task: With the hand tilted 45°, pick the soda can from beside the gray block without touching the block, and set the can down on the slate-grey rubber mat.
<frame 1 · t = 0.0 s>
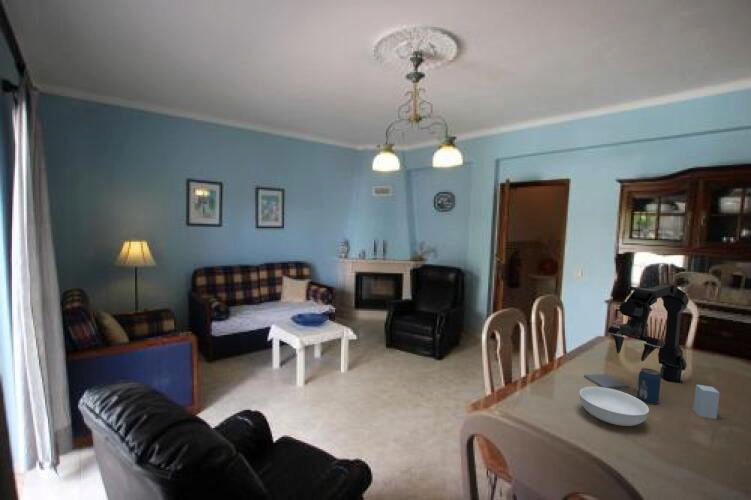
hand: (629, 357, 152), 15 cm above the table, tool pointing down, fingers open, 9 cm apart
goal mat: (605, 382, 164), on the table
gray block: (704, 414, 139), on the table
serving bowl: (611, 418, 134), on the table
soda can: (647, 401, 148), on the table
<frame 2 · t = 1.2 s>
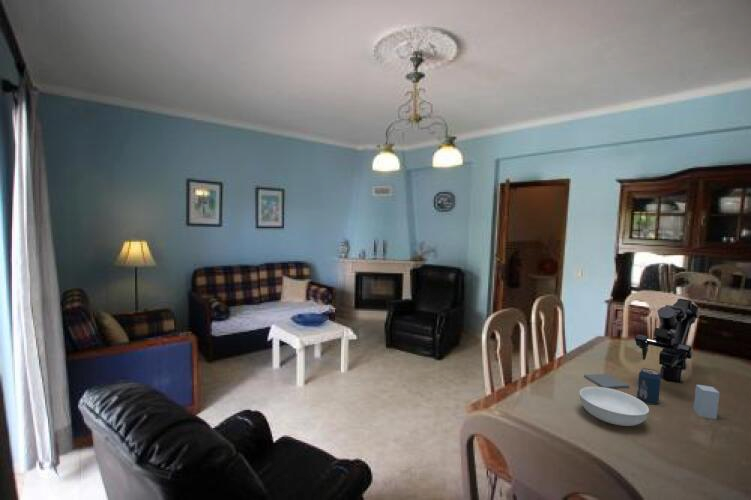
hand: (657, 363, 152), 13 cm above the table, tool tilted 45°, fingers open, 9 cm apart
nothing on the table moved.
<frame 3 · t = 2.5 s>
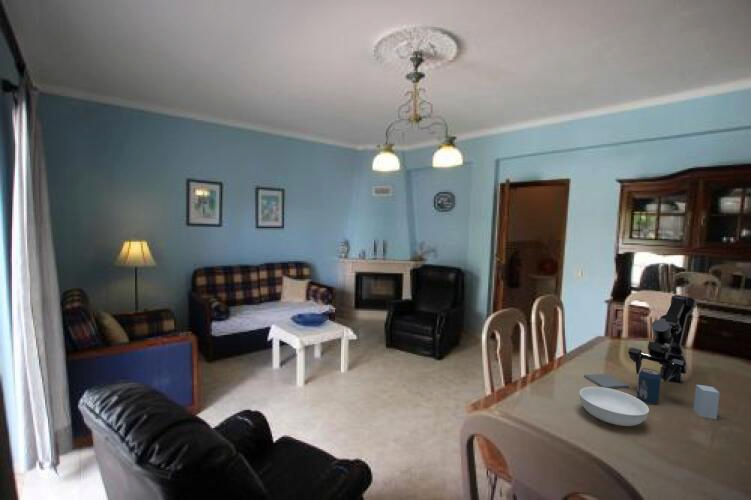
hand: (650, 377, 148), 9 cm above the table, tool tilted 45°, fingers open, 9 cm apart
nothing on the table moved.
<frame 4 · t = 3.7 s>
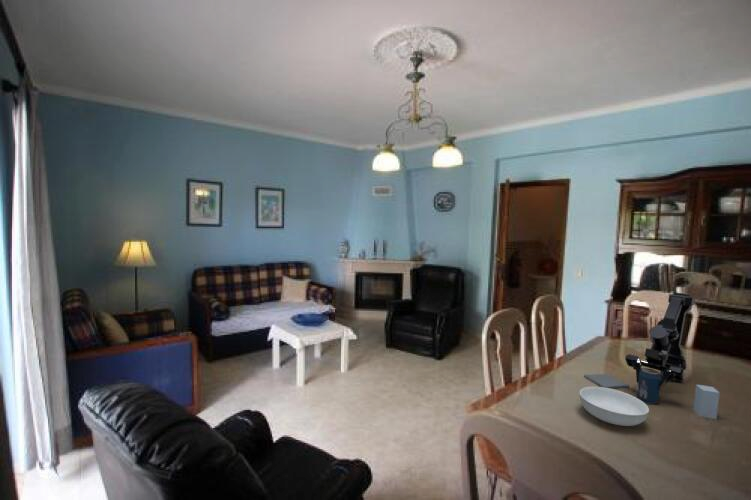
hand: (647, 385, 147), 7 cm above the table, tool tilted 45°, fingers closed on soda can, 7 cm apart
soda can: (647, 401, 148), on the table, touching gripper
everything else where it was.
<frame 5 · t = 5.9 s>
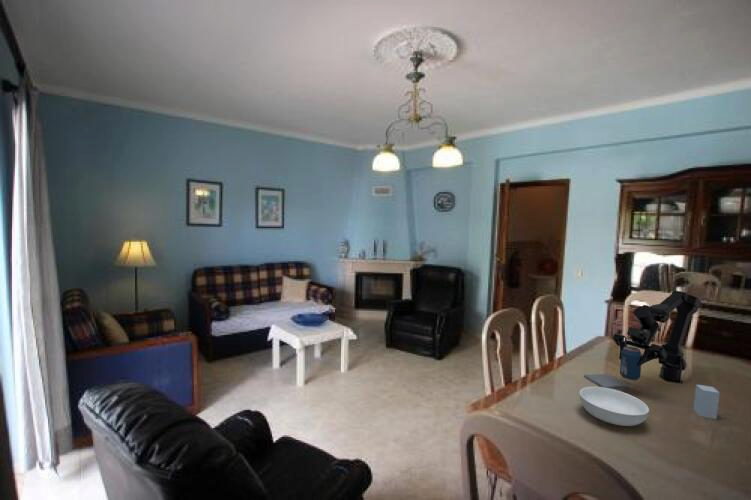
hand: (628, 362, 152), 13 cm above the table, tool tilted 45°, fingers closed on soda can, 7 cm apart
soda can: (629, 378, 154), point 6 cm above the table, touching gripper
everything else where it was.
when the fingers open (9 cm above the table, at t = 8.2 s): soda can drops 1 cm, resting on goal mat.
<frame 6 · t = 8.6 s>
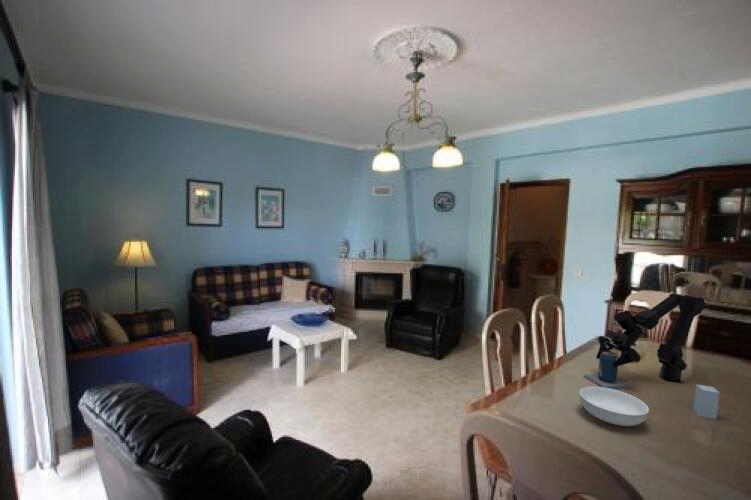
hand: (604, 362, 163), 9 cm above the table, tool tilted 45°, fingers open, 9 cm apart
soda can: (606, 380, 164), point 1 cm above the table, touching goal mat
everything else where it was.
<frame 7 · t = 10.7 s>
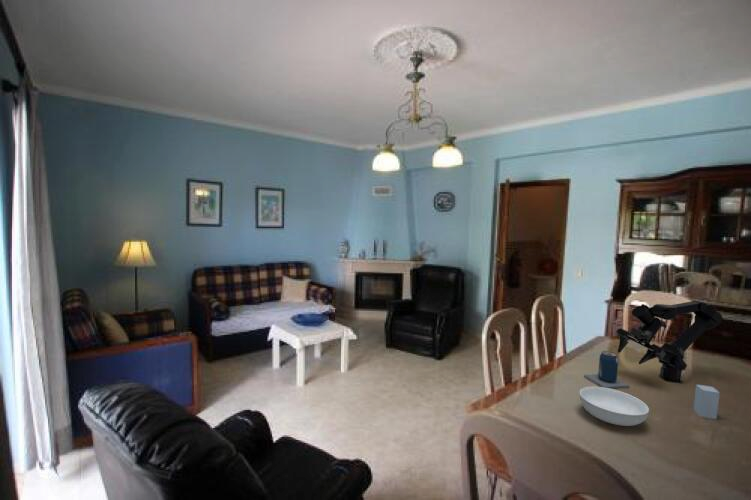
hand: (628, 358, 165), 11 cm above the table, tool tilted 35°, fingers open, 9 cm apart
nothing on the table moved.
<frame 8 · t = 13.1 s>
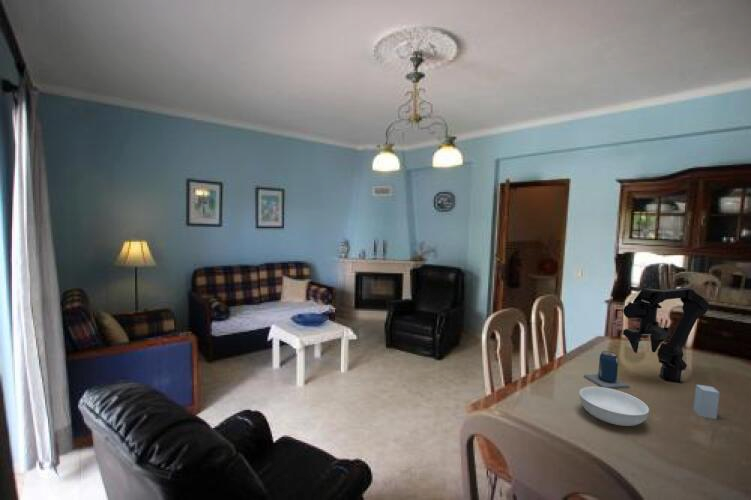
hand: (644, 352, 165), 13 cm above the table, tool pointing down, fingers open, 9 cm apart
nothing on the table moved.
at the end: soda can inside the target area on the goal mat (0.4 cm from its centre), point 0.8 cm above the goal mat's base; soda can tilted 0°; gray block moved 0.0 cm from its start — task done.
